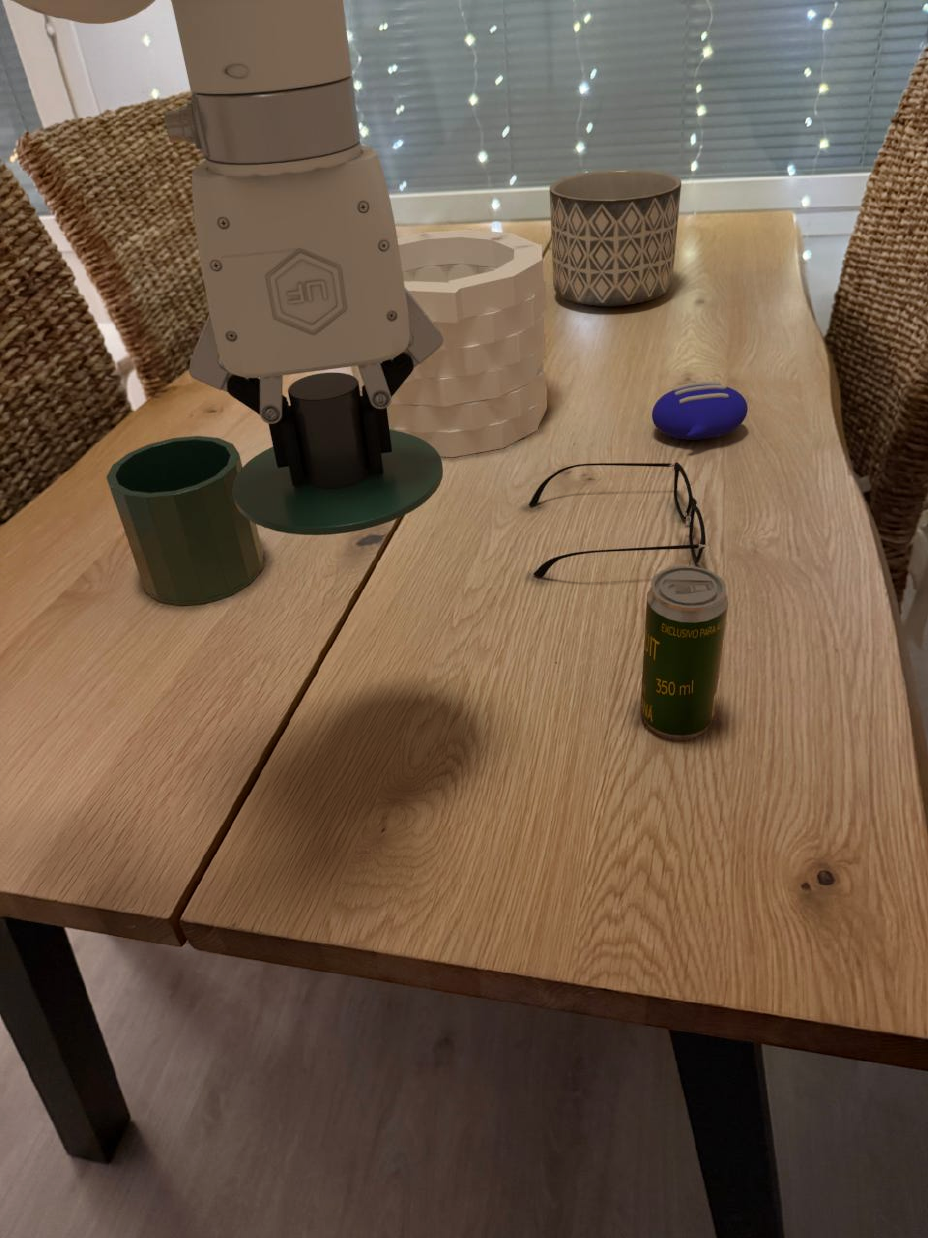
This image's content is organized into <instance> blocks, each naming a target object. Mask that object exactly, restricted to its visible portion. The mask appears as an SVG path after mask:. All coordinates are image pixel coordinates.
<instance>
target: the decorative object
mask: <svg viewBox="0 0 928 1238" xmlns="http://www.w3.org/2000/svg"><path fill="white" fill-rule="evenodd" d="M748 410H749V409H748V402H747V400H746V399H745V397H744V396H743V395H742V394H741V393H740V392H739V391H737V390H735V389H733V388H732V387H729V386H726V385H724V384H723V385H722V383H721V382H720V381H711V380H707V381H696V382H689V383H683V384H681V385H677V386H674V387H673V388H672V390H670V391H668V392H666V393H664V394H663V395H662V396H660V397H659V399H658V400H657V401H656V402H655V404H654V405H653V408H652V410H651V411H652V412H651V419H652V422H653V424H654V426H655V427H656V429H657V430H659V432H661V433H662V434H665V435H666V436H668V437H671V438H675V439H679V440H685V441H687V440H688V441H693V440H694V441H697V440H707V439H712V438H718V437H721V436H725V435H727V434H729V433H732V432H733V431H735V430H736V429H737V428H739V427H740V426H741V425H742V423H743V422H744V421H745V419H746V417H747V415H748Z"/></svg>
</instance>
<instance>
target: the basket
mask: <svg viewBox="0 0 928 1238" xmlns="http://www.w3.org/2000/svg"><path fill="white" fill-rule="evenodd" d="M397 239H398V245H399V251H400V257H401V264H402V270H403V277H404V284H405V288H406V289H407V290H408V292H409V293H410V294H411V295H412V297H413V298H414V299H415V300H416V301H417V303H418V304H419V305H420V306H421V308H422V309H423V310H424V311H425V312H426V314H427V315H428V316H429V317H430V319H431V320H432V321H433V322H434V323H435V325H436V326H437V327H438V329H439V331H440V333H441V335H442V337H443V344H442V345H441V347H440V348H439V349H437V350H436V351H435V352H434V353H433V354H431V355H430V356H429V357H428V358H427V359H425V360H424V361H423V362H422V363H421V364H418V365H417V366H416V367H414V368H413V371H412V373H411V374H410V375H409V376H408V378H407V379H406V380H405V381H404V383H403V384H402V385H401V386H400V387H399V389H398V390H397V391H396V392H395V394H394V395H393V396H392V397H391V403H390V405H389V406H388V407H387V414H388V422H389V430H395V431H400V432H404V433H407V434H410V435H413V436H416V437H418V438H420V439H422V440H424V441H426V442H427V443H429V444H430V445H431V446H432V447H434V449H435V450H436V451H437V452H438V454H439V456H440V458H451V459H452V458H456V457H462V456H468V455H474V454H477V453H484V452H490V451H495V450H502V449H504V448H507V447H508V446H510V445H511V444H513V443H516V442H517V441H520V440H521V439H523V438H525V437H527V436H530V435H531V434H533V433H535V432H537V431H539V426H540V424H541V422H542V420H543V418H544V416H545V414H546V412H547V409H548V391H547V390H548V388H547V386H548V385H547V384H546V371H545V369H544V362H545V360H546V359H547V355H546V354H547V353H546V352H547V351H546V350H547V349H546V348H547V347H546V333H545V316H544V315H543V314H544V313H545V311H546V309H547V279H544V259H543V244H541V243H536V242H534V241H531V240H530V239H527V238H524V237H521V236H519V235H518V234H515V233H513V232H512V233H511V232H501V231H500V232H499V231H489V230H477V229H458V230H456V229H455V230H445V231H444V230H443V231H428V232H420V233H414V234H409V235H405V236H400V237H397ZM409 335H410V331H409ZM381 363H382V362H381ZM350 369H351V375H352V376H354V377H355V378H356V379H357V380H358V382H359V389H360V396H362V387H363V385H364V382H363V380H362V377H361V374H360V371H359V368H358V366H351V367H350Z"/></svg>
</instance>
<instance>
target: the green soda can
mask: <svg viewBox="0 0 928 1238" xmlns="http://www.w3.org/2000/svg"><path fill="white" fill-rule="evenodd" d="M728 597H729V596H728V595H727V586H726V583H725V582H724V580H723V579H722V577H720V576H719V575H718V574H716V573H715V572H714V571H712V570H709V569H707V568H704V567H699V566H694V565H679V566H671V567H668V568H665V569H662V570H661V571H659V572H658V573H656V574H655V575H654V576H653V578H652V579H651V582H650V588H649V589H648V591H647V593H646V607H645V622H644V623H645V624H644V639H643V655H642V672H641V687H640V688H641V689H640V705H639V707H640V711H639V713H640V715H641V717H642V719H643V721H644V723H645V725H646V726H647V728H649V730H650V731H651V732H653V733H654V734H656V735H657V736H659V737H662V738H664V739H668V740H674V741H675V740H676V741H685V740H686V741H687V740H692V739H694V738H696V737H699V736H700V735H702V734H703V733H704V732H705V731H706V730H707V729H708V728H709V727H710V725H712V722H713V721H714V717H715V710H716V703H717V695H718V688H719V679H720V672H721V664H722V657H723V647H724V641H725V632H726V623H727V615H728V609H729V608H728V607H729V598H728Z"/></svg>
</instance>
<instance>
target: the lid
mask: <svg viewBox="0 0 928 1238" xmlns="http://www.w3.org/2000/svg"><path fill="white" fill-rule="evenodd" d="M287 394H288V399H289V400H288V401H289V406H290V405H291V410H292V415H293V420H294V425H295V430H296V435H297V441H298V446H299V451H300V456H301V461H302V467H303V472H304V481H305V482H302V483H301V484H302V485H297V486H293V485H292V480H291V475H290V470H289V467H282V468H278V467H277V463H276V458H275V453H274V449H273V446H271V447H269V448H267V449H265V450H263V451H261V452H260V453H258V454H257V455H255V456H254V457H252V459H250V460H248V461H247V462H246V463H245V464H244V465H243V466H242V467H243V468H242V469H241V470H240V471H239V473H238V474H237V475H236V478H235V480H234V482H233V487H232V492H233V498H234V502H235V504H236V507H237V508H238V510H239V511H240V512H241V514H242V515H244V516H245V517H246V518H247V519H248V520H250V521H252V522H253V523H255V524H256V525H258V526H259V527H262V528H265V529H268V530H272V531H275V532H279V533H286V534H289V535H290V534H291V535H301V536H326V535H329V536H330V535H339V534H347V533H352V532H357V531H362V530H366V529H371V528H374V527H379V526H382V525H383V524H387V523H390V522H392V521H395V520H397V519H399V518H402V517H403V516H406V515H408V514H409V513H412V512H413V511H415V510H416V509H418V508H419V507H421V506H422V505H423V504H425V503H426V502H427V501H428V500H429V499H430V498H432V497H433V495H434V494H435V493H436V492H437V490H438V489H439V488H440V485H441V483H442V480H443V478H444V477H443V476H444V475H443V474H444V467H443V460H442V457H440V456H439V454H438V452H437V451H436V450H435V449H434V447H432V446H431V445H430V444H429V443H427V442H426V441H424V440H422V439H420V438H418V437H416V436H413V435H410V434H407V433H404V432H400V431H395V430H390V438H391V445H392V452H388V453H381V456H382V464H383V472H384V473H381V474H375V472H371V468H370V462H369V455H368V448H367V441H366V434H365V427H364V420H363V413H362V403H361V396H360V389H359V382H358V380H357V379H356V378H355V377H354V376H353V374H348V373H344V372H336V371H335V372H333V371H332V372H321V373H315V374H310V375H307V376H304V377H302V378H300V379H297V380H296V381H294V382H292V383H291V384H290V385H289V386H288V390H287Z"/></svg>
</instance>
